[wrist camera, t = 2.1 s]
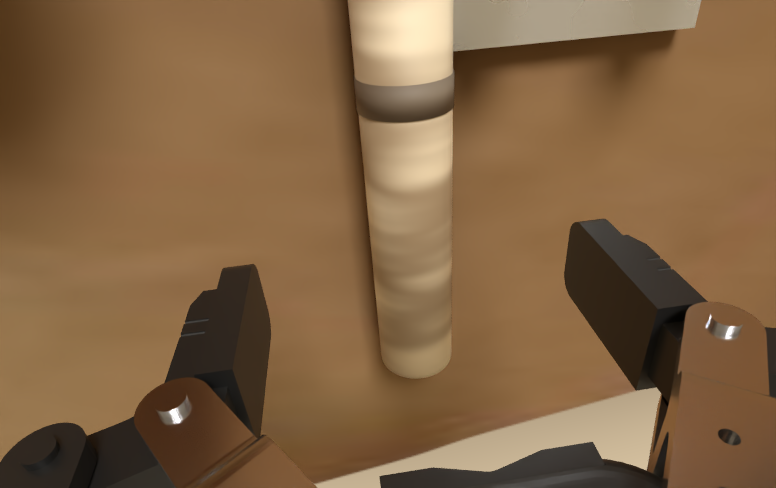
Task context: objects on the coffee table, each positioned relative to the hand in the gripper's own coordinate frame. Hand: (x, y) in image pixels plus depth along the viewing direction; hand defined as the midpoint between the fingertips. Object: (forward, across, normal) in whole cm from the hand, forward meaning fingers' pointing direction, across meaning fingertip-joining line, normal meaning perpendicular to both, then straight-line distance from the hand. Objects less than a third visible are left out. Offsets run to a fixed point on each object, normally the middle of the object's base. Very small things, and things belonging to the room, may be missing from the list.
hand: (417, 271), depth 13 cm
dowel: (+8, -1, +1) cm, 8 cm away
